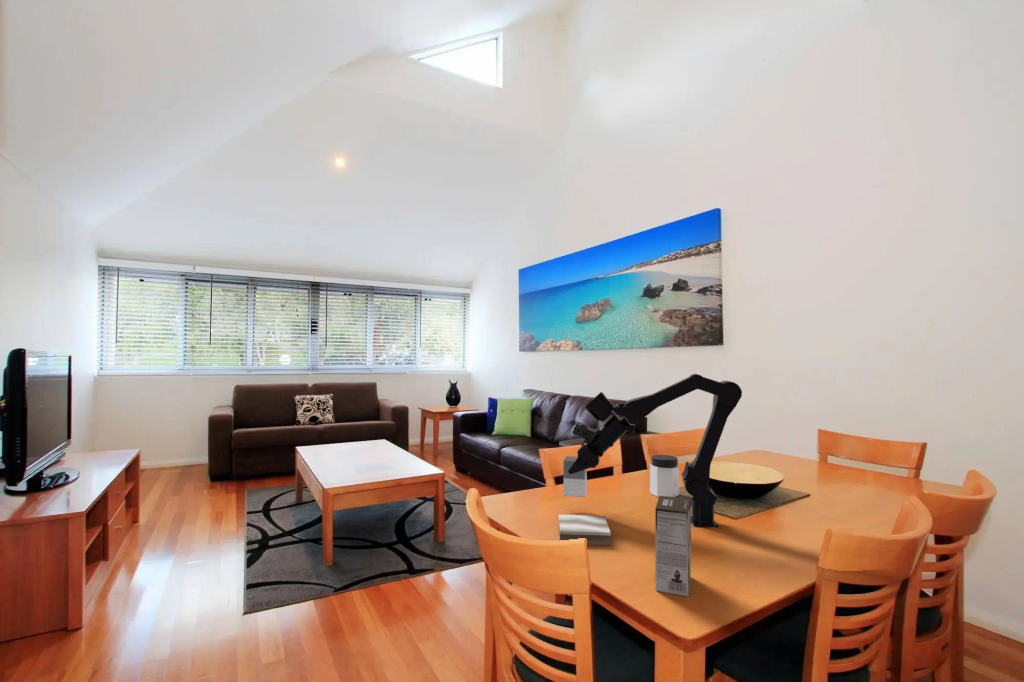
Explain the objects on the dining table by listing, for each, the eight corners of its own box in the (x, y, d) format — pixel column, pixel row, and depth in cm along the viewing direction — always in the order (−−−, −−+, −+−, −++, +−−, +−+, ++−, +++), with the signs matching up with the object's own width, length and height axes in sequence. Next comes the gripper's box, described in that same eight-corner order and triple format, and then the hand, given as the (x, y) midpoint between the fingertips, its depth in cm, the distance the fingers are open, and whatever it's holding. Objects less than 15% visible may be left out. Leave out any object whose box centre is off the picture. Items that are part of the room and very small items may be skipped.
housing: (586, 491, 142) (586, 457, 142) (584, 497, 136) (584, 461, 136) (566, 490, 143) (566, 456, 143) (563, 496, 137) (563, 460, 138)
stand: (610, 545, 115) (610, 532, 115) (559, 543, 116) (560, 531, 116) (604, 527, 127) (604, 515, 127) (558, 525, 128) (558, 514, 128)
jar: (669, 500, 151) (669, 461, 151) (645, 494, 157) (646, 457, 157) (682, 494, 157) (682, 457, 158) (660, 489, 163) (660, 453, 163)
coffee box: (658, 571, 102) (658, 494, 102) (691, 576, 99) (691, 498, 100) (654, 591, 93) (654, 507, 94) (690, 597, 91) (690, 511, 91)
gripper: (591, 409, 148) (555, 443, 151) (585, 417, 130) (545, 456, 132) (618, 436, 146) (581, 470, 148) (615, 448, 128) (574, 487, 130)
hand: (570, 470), depth 140 cm, fingers closed on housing, 6 cm apart
